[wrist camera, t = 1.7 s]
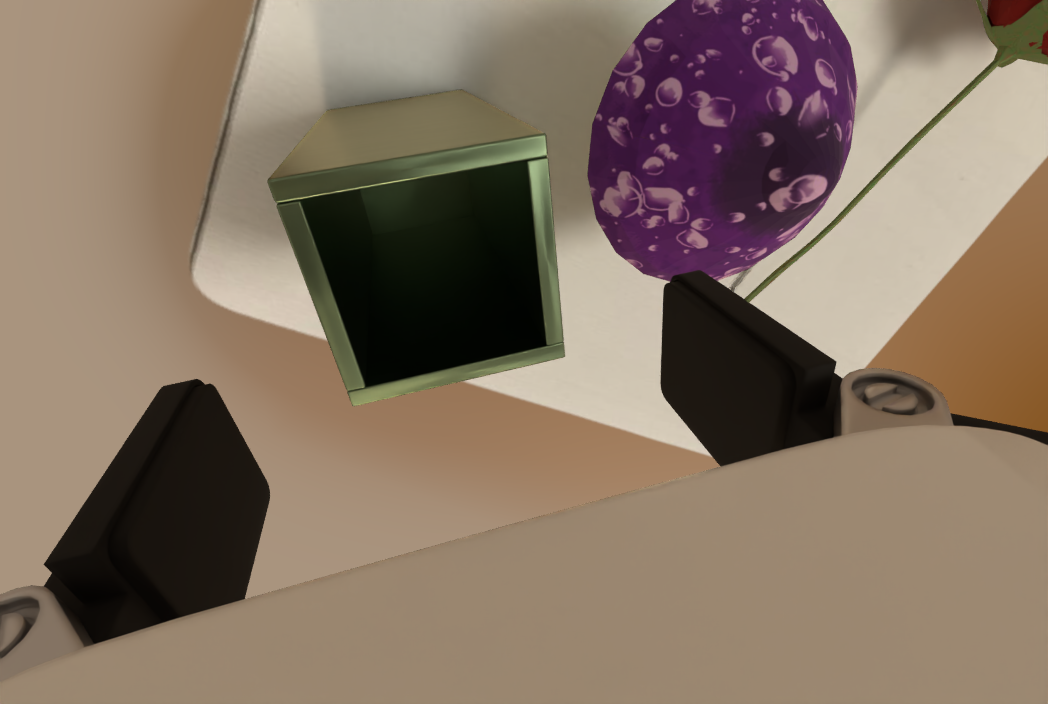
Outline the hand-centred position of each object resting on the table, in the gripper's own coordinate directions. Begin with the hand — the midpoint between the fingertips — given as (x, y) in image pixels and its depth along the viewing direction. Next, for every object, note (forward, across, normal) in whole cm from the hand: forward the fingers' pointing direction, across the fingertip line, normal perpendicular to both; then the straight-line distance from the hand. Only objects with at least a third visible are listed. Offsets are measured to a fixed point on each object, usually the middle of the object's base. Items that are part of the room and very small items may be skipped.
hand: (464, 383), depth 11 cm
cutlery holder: (+21, 0, 0) cm, 21 cm away
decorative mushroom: (+21, -13, -1) cm, 25 cm away
